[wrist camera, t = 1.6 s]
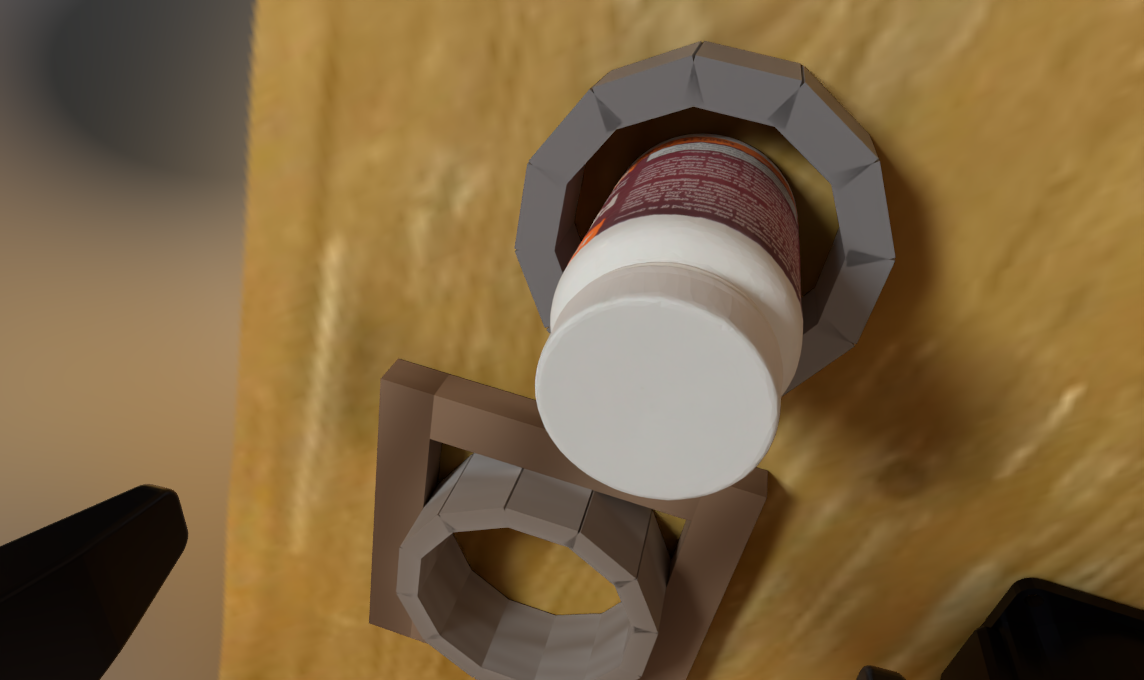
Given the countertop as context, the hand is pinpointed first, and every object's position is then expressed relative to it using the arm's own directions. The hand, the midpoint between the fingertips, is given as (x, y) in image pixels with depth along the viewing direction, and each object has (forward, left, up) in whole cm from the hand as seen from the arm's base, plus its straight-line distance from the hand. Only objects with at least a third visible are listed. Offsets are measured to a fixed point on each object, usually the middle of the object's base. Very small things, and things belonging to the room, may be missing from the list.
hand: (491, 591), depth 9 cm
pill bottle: (-1, -1, -12) cm, 12 cm away
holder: (-1, -1, -12) cm, 12 cm away
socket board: (+1, +12, -12) cm, 17 cm away
